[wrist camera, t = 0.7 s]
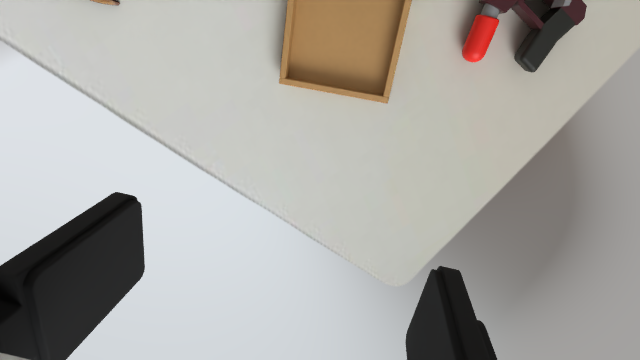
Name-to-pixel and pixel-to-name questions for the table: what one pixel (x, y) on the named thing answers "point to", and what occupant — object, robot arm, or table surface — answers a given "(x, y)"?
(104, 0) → the lashed bone hook
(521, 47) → the toy gun
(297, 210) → the table surface
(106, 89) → the table surface
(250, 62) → the table surface
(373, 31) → the tray
